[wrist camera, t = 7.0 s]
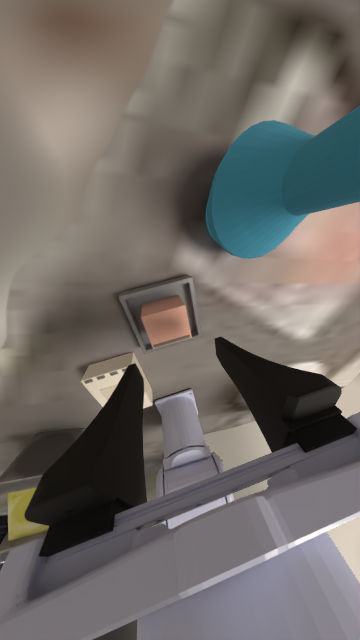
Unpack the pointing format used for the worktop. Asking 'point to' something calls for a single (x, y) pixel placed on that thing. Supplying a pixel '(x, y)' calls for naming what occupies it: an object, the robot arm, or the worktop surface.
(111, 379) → the block
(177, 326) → the stub
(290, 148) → the perfume bottle
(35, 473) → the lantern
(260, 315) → the worktop surface
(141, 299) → the tray
